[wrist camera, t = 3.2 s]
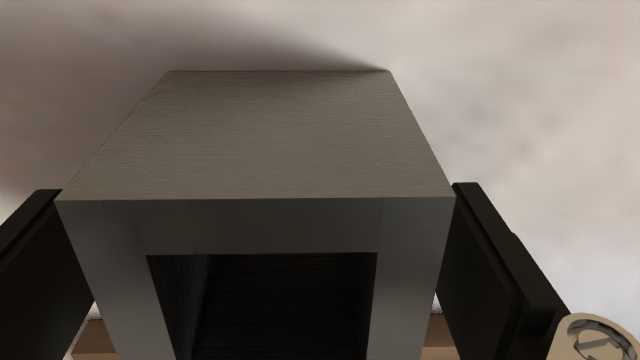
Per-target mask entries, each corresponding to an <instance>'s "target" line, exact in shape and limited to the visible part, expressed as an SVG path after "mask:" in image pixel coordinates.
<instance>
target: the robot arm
mask: <svg viewBox="0 0 640 360" xmlns="http://www.w3.org/2000/svg"><path fill="white" fill-rule="evenodd" d="M451 187H452V189H453V191H454V193H455V195H456V201H455V205H454V210H453V214H452V219H451V223H450V228H449V232H448V237H447V241H446V246H445V250H444V255H443V259H442V264H441V268H440V273H439V277H438V282H437V286H436V291H435V292H436V295H437V298H438V300H439V303H440V306H441V308H442V311H443V314H444V317H445V319H446V322H447V325H448V328H449V330H450V333H451V336H452V338H453V341H454V344H455V347H456V349H457V352H458V355H459V358H460V360H640V343H639V342H638V341H637V340H636V339H635V338H634V337H633V336H632V335H631V334H630V333H629V332H627V331H626V330H625V329H623V328H622V327H621V326H619V325H617V324H616V323H614V322H612V321H610V320H608V319H606V318H603V317H600V316H597V315H594V314H587V313H574V314H571V313H570V311H569V310H568V308H567V307H566V305H565V304H564V303H563V301H562V300H561V298H560V297H559V295H558V294H557V292H556V291H555V290H554V288H553V287H552V285H551V284H550V282H549V281H548V280H547V278H546V277H545V275H544V274H543V272H542V271H541V269H540V268H539V267H538V265H537V264H536V262H535V261H534V259H533V258H532V256H531V255H530V254H529V252H528V251H527V249H526V248H525V246H524V245H523V244H522V242H521V241H520V239H519V238H518V237H517V236H516V235H515V233H512V232H511V231H510V229H509V228H508V226H507V225H506V223H505V222H504V220H503V219H502V217H501V216H500V214H499V213H498V212H497V210H496V209H495V207H494V206H493V204H492V203H491V201H490V200H489V198H488V197H487V195H486V194H485V193H484V191H483V190H482V188H481V187H480V185H479V184H478V183H476V182H463V183H453V184H452V186H451ZM62 190H63V189H40V190H36V191H35V192H34V193H33V194H32V195H31V196H30V197H29V198H28V199H27V200H26V201H25V202H24V203H23V204H22V205H21V206H20V207H19V208H18V209H17V210H16V211H15V212H14V213H13V214H12V215H11V216H10V217H9V218H8V219H7V220H6V221H5V222H4V223H3V224H2V225H1V226H0V360H63V358H64V356H65V354H66V352H67V350H68V349H69V347H70V345H71V343H72V341H73V339H74V338H75V336H76V334H77V332H78V330H79V329H80V327H81V325H82V323H83V321H84V319H85V318H86V316H87V314H88V312H89V310H90V308H91V307H92V305H93V303H94V301H95V299H94V297H93V295H92V292H91V290H90V287H89V285H88V283H87V280H86V278H85V275H84V273H83V271H82V268H81V266H80V263H79V261H78V259H77V256H76V254H75V251H74V249H73V247H72V244H71V242H70V239H69V237H68V235H67V232H66V230H65V227H64V225H63V223H62V220H61V218H60V215H59V213H58V211H57V208H56V206H55V203H54V201H53V200H54V199H55V198H56V197H57V196H58V195H59V194H60V192H61V191H62Z"/></svg>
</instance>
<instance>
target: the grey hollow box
mask: <svg viewBox="0 0 640 360" xmlns="http://www.w3.org/2000/svg"><path fill="white" fill-rule="evenodd" d="M53 201H54V203H55V206H56V208H57V211H58V213H59V215H60V218H61V220H62V223H63V225H64V227H65V230H66V232H67V235H68V237H69V239H70V242H71V244H72V247H73V249H74V251H75V254H76V256H77V259H78V261H79V263H80V266H81V268H82V271H83V273H84V275H85V278H86V280H87V283H88V285H89V287H90V290H91V292H92V295H93V297H94V299H95V302H96V304H97V307H98V309H99V311H100V314H101V316H102V319H103V321H104V324H105V326H106V328H107V331H108V333H109V336H110V338H111V340H112V343H113V345H114V348H115V350H116V352H117V355H118V357H119V360H420V358H421V354H422V349H423V345H424V340H425V336H426V331H427V327H428V322H429V318H430V313H431V309H432V304H433V300H434V295H435V291H436V286H437V282H438V277H439V273H440V268H441V264H442V259H443V255H444V250H445V246H446V241H447V237H448V232H449V228H450V223H451V219H452V214H453V210H454V205H455V201H456V195H455V193H454V191H453V189H452V187H451V185H450V183H449V182H448V180H447V178H446V176H445V174H444V172H443V170H442V168H441V166H440V165H439V163H438V161H437V159H436V157H435V155H434V153H433V151H432V149H431V148H430V146H429V144H428V142H427V140H426V138H425V136H424V134H423V132H422V131H421V129H420V127H419V125H418V123H417V121H416V119H415V117H414V115H413V114H412V112H411V110H410V108H409V106H408V104H407V102H406V100H405V98H404V97H403V95H402V93H401V91H400V89H399V87H398V85H397V83H396V81H395V80H394V78H393V76H392V74H391V72H390V71H168V72H167V73H166V75H165V76H164V77H163V78H162V79H161V80H160V81H159V82H158V84H157V85H156V86H155V87H154V88H153V89H152V90H151V91H150V92H149V94H148V95H147V96H146V97H145V98H144V99H143V100H142V101H141V103H140V104H139V105H138V106H137V107H136V108H135V109H134V110H133V112H132V113H131V114H130V115H129V116H128V117H127V118H126V119H125V121H124V122H123V123H122V124H121V125H120V126H119V127H118V128H117V130H116V131H115V132H114V133H113V134H112V135H111V136H110V137H109V139H108V140H107V141H106V142H105V143H104V144H103V145H102V146H101V148H100V149H99V150H98V151H97V152H96V153H95V154H94V155H93V157H92V158H91V159H90V160H89V161H88V162H87V163H86V164H85V165H84V167H83V168H82V169H81V170H80V171H79V172H78V173H77V174H76V176H75V177H74V178H73V179H72V180H71V181H70V182H69V183H68V185H67V186H66V187H65V188H64V189H63V190H62V191H61V192H60V194H59V195H58V196H57V197H56V198H55V199H54V200H53Z"/></svg>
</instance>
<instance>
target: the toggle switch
mask: <svg viewBox="0 0 640 360" xmlns="http://www.w3.org/2000/svg"><path fill="white" fill-rule="evenodd" d="M71 355H72V357H73V359H74V360H119V357H118V355H117V352H116V350H115V348H114V345H113V343H112V340H111V338H110V336H109V333H108V331H107V328H106V326H105V324H104V321H103V320H89V321H88V323H87V325H86V327H85V328H84V330H83V332H82V334H81V336H80V338H79V340H78V341H77V343H76V345H75V347H74V349H73V351H72V353H71ZM420 360H460V358H459V355H458V352H457V349H456V347H455V344H454V341H453V338H452V336H451V333H450V330H449V328H448V325H447V322H446V319H445V317H444V314H430V318H429V322H428V327H427V331H426V336H425V340H424V345H423V349H422V354H421V358H420Z"/></svg>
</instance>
